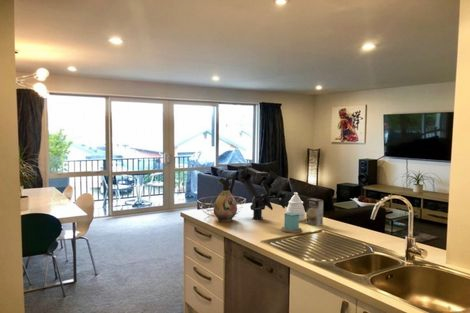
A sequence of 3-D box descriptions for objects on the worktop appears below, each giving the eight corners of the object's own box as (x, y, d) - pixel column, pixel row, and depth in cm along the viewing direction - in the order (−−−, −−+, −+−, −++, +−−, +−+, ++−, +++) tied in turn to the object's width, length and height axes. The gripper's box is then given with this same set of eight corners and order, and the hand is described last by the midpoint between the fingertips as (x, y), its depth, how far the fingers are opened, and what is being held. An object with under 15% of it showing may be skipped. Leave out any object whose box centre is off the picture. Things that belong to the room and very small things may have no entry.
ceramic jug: (221, 224, 218) (221, 177, 217) (209, 219, 231) (209, 175, 229) (243, 221, 228) (244, 176, 226) (230, 216, 241) (231, 173, 239)
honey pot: (304, 221, 230) (305, 194, 229) (285, 220, 232) (285, 193, 231) (304, 216, 242) (305, 191, 241) (286, 215, 245) (286, 190, 244)
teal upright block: (284, 228, 207) (284, 213, 207) (291, 227, 210) (292, 212, 210) (290, 230, 202) (291, 215, 201) (298, 229, 205) (299, 214, 205)
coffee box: (305, 223, 224) (306, 198, 223) (311, 221, 228) (311, 197, 227) (317, 226, 217) (318, 200, 216) (323, 224, 221) (323, 199, 220)
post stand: (282, 227, 213) (282, 220, 213) (302, 228, 211) (302, 221, 210) (280, 232, 202) (280, 224, 202) (301, 234, 199) (301, 226, 199)
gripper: (261, 181, 213) (271, 202, 204) (286, 180, 222) (296, 200, 213) (254, 192, 220) (263, 213, 212) (278, 190, 229) (288, 210, 220)
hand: (278, 208), depth 214 cm, fingers open, 9 cm apart
